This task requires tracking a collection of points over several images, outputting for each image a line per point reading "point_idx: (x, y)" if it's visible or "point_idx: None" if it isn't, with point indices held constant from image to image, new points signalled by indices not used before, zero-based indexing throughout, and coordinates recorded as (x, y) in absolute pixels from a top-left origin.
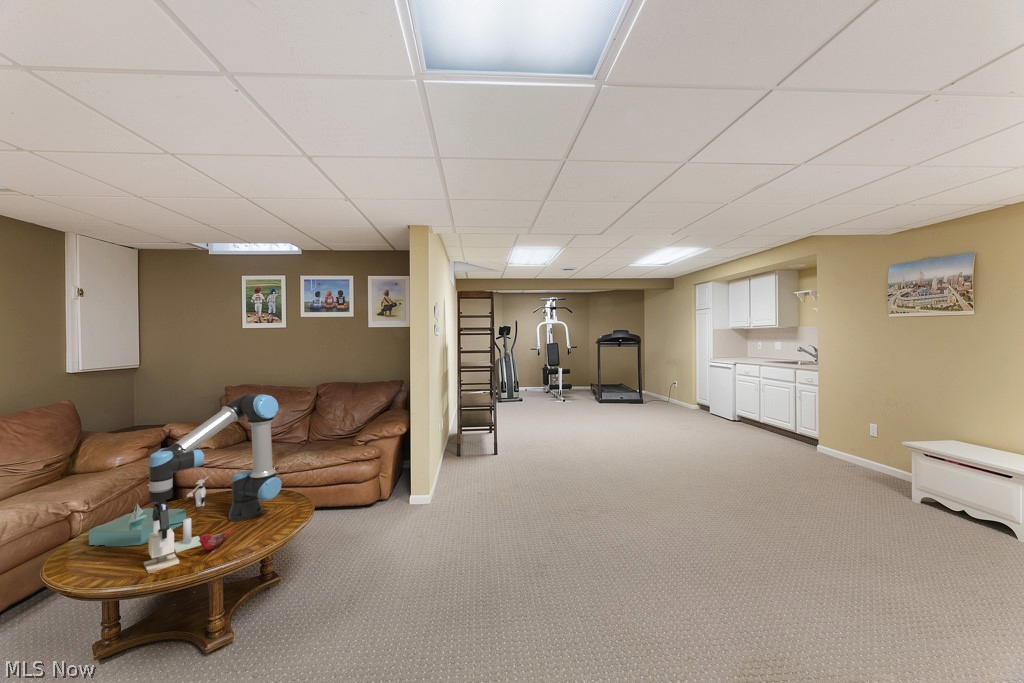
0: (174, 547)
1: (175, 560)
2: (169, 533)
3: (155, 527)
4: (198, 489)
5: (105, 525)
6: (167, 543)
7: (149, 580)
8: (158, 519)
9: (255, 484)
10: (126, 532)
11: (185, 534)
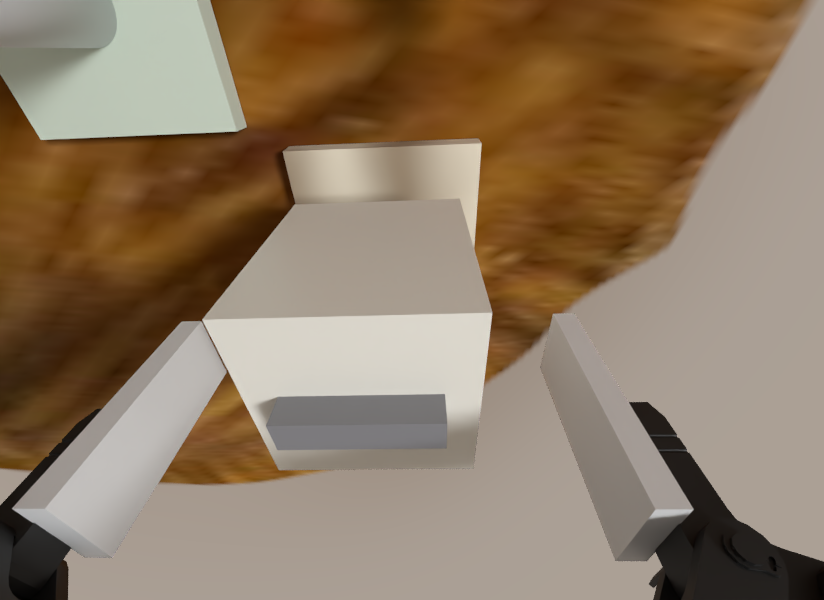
0: (153, 130)
1: (449, 165)
2: (463, 355)
3: (161, 454)
4: None
5: None
6: (582, 332)
7: (564, 297)
8: (26, 545)
9: None
10: None
11: (15, 22)
